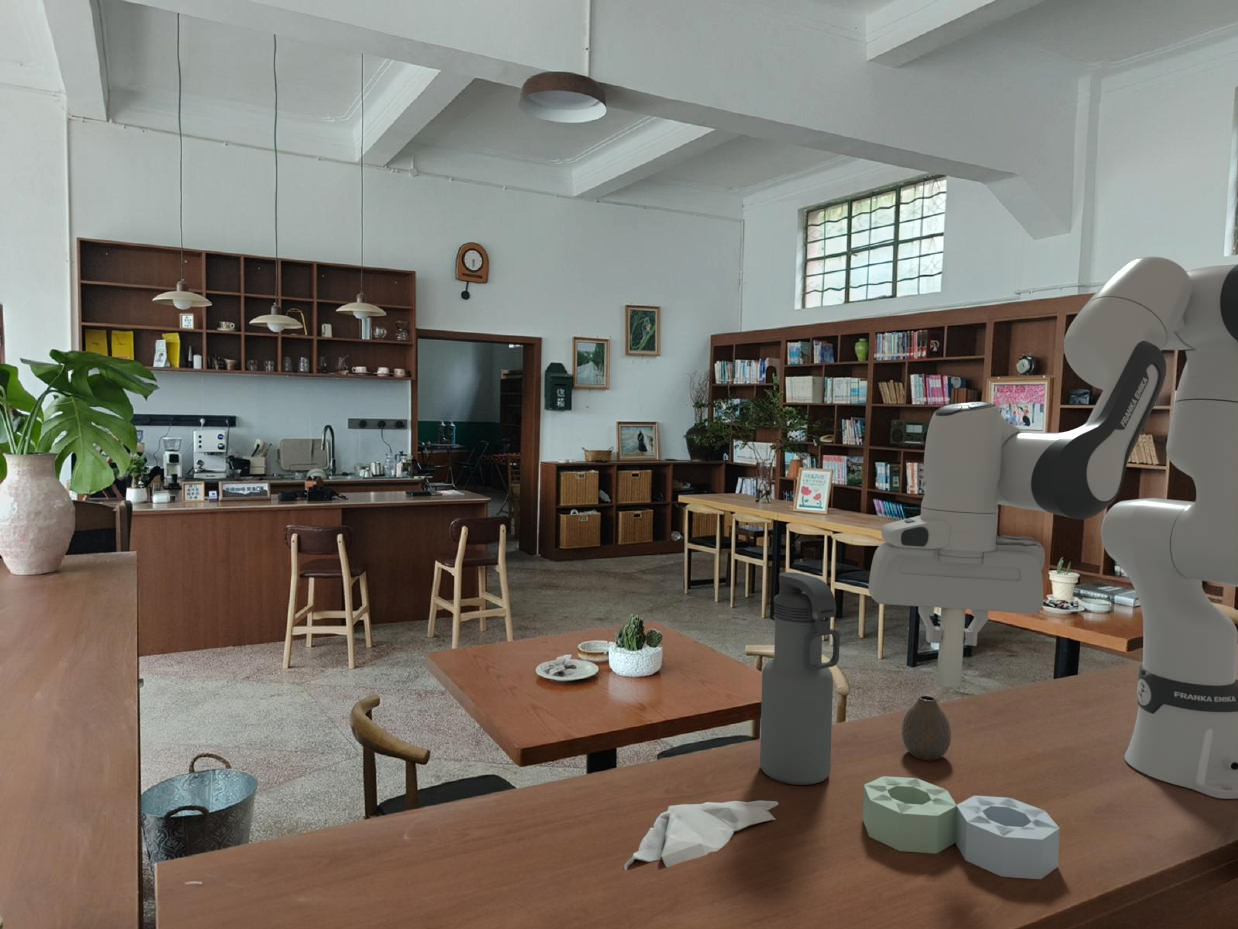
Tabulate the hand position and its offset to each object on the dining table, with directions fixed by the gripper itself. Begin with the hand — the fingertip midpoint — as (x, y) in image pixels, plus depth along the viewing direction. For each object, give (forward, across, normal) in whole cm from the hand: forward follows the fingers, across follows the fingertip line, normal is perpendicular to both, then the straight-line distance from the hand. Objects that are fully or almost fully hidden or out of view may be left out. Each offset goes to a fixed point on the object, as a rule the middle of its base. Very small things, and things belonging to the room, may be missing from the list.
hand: (950, 643), depth 103 cm
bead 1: (+23, +5, +4) cm, 23 cm away
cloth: (+24, +30, +7) cm, 39 cm away
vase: (+22, -3, -20) cm, 30 cm away
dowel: (+5, 0, 0) cm, 5 cm away
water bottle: (+23, +17, -11) cm, 31 cm away
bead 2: (+22, -5, +8) cm, 24 cm away
